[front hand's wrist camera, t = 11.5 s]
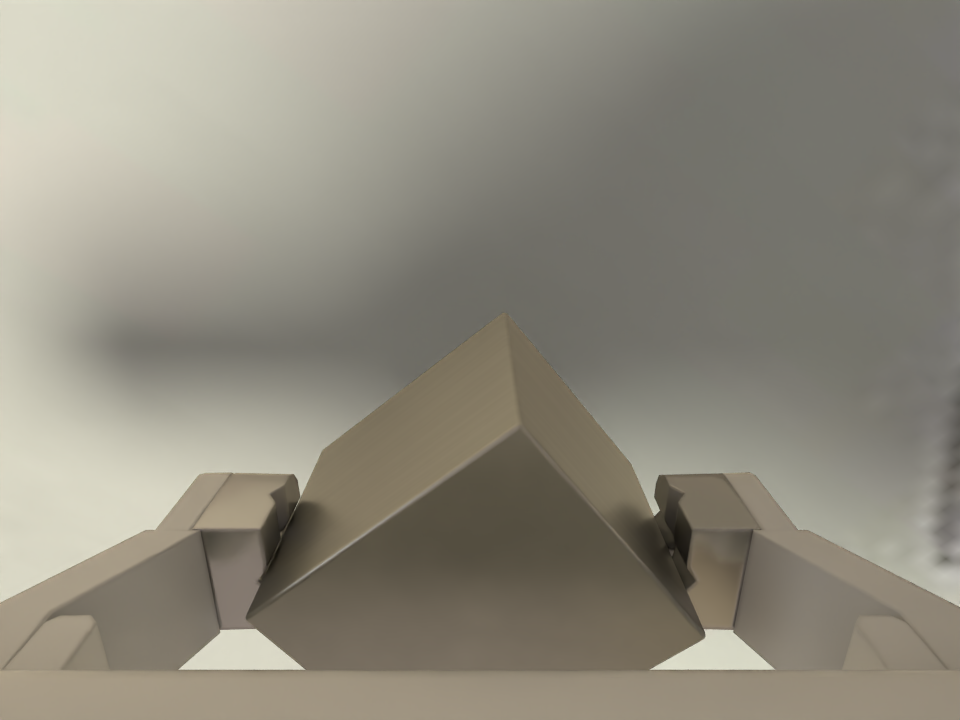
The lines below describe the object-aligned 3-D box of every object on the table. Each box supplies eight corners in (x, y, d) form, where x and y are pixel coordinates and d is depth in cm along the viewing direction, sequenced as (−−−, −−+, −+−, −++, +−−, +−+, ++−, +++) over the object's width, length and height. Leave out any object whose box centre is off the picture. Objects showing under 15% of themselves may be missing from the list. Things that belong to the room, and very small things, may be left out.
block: (320, 450, 12) (241, 620, 8) (505, 309, 11) (519, 423, 7) (454, 580, 13) (444, 786, 9) (632, 464, 12) (709, 639, 8)
